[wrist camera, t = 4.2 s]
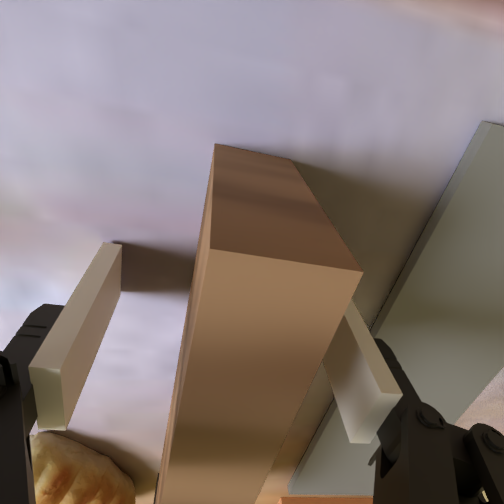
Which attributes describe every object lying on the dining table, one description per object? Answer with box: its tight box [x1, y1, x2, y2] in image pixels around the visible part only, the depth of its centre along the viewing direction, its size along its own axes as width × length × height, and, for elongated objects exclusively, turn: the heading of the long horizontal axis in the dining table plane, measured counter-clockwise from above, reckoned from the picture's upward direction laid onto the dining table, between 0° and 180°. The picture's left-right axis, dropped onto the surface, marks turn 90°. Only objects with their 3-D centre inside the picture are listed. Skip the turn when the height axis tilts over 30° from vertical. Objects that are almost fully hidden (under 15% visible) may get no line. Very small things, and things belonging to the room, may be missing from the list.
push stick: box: [153, 144, 364, 504], centre depth 15 cm, size 23×3×8 cm, turn 167°
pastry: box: [30, 432, 135, 504], centre depth 22 cm, size 9×7×4 cm
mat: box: [288, 121, 504, 495], centre depth 20 cm, size 28×9×1 cm, turn 167°
